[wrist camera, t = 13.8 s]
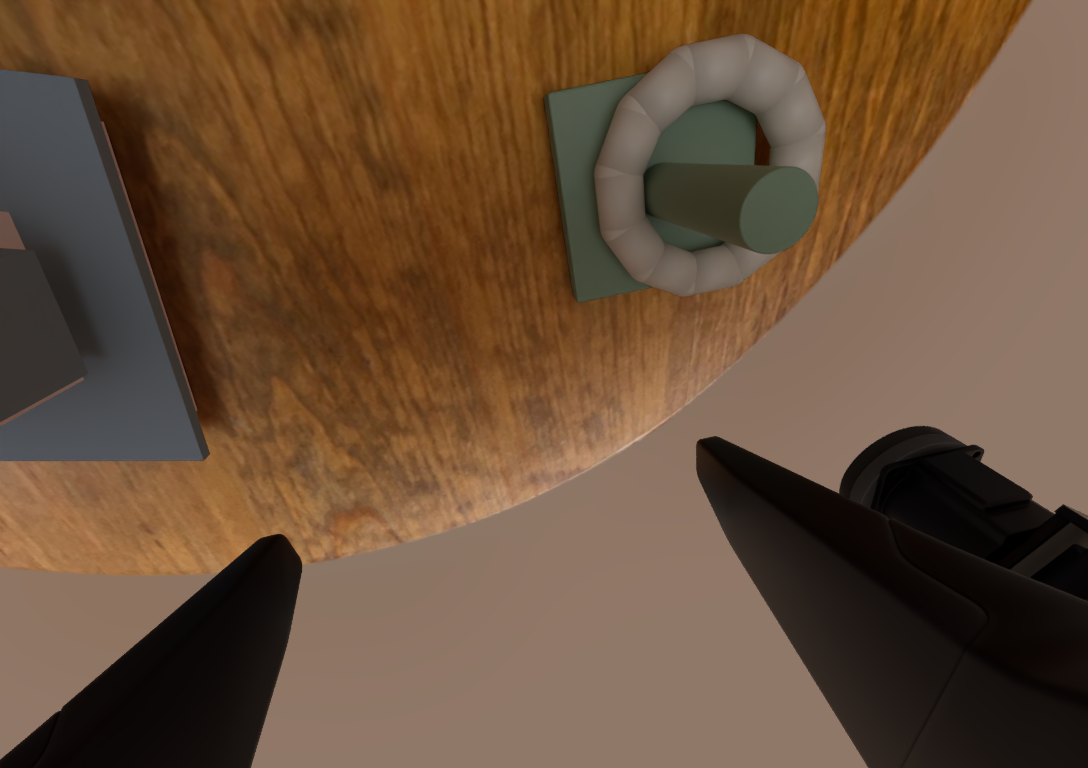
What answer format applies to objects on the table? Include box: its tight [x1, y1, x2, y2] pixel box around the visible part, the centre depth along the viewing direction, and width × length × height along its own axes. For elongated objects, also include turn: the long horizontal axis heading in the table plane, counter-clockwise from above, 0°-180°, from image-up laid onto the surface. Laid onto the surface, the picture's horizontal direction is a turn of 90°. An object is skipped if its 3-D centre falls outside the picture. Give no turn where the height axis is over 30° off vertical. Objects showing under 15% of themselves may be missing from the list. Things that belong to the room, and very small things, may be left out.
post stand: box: [544, 73, 818, 303], centre depth 14 cm, size 8×8×9 cm
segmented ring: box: [594, 34, 826, 296], centre depth 17 cm, size 9×9×2 cm
